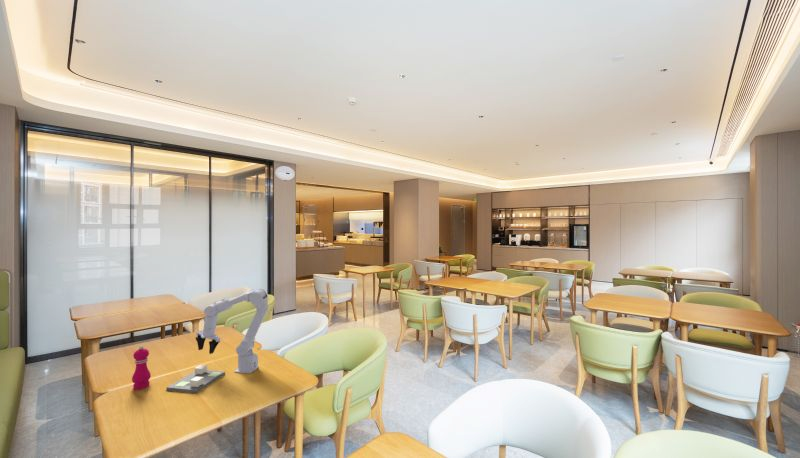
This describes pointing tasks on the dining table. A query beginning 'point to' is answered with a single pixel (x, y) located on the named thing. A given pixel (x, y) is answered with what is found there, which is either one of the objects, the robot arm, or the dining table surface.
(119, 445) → the dining table surface
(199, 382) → the left knob
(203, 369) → the right knob
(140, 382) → the pepper mill
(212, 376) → the switch board
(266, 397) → the dining table surface
